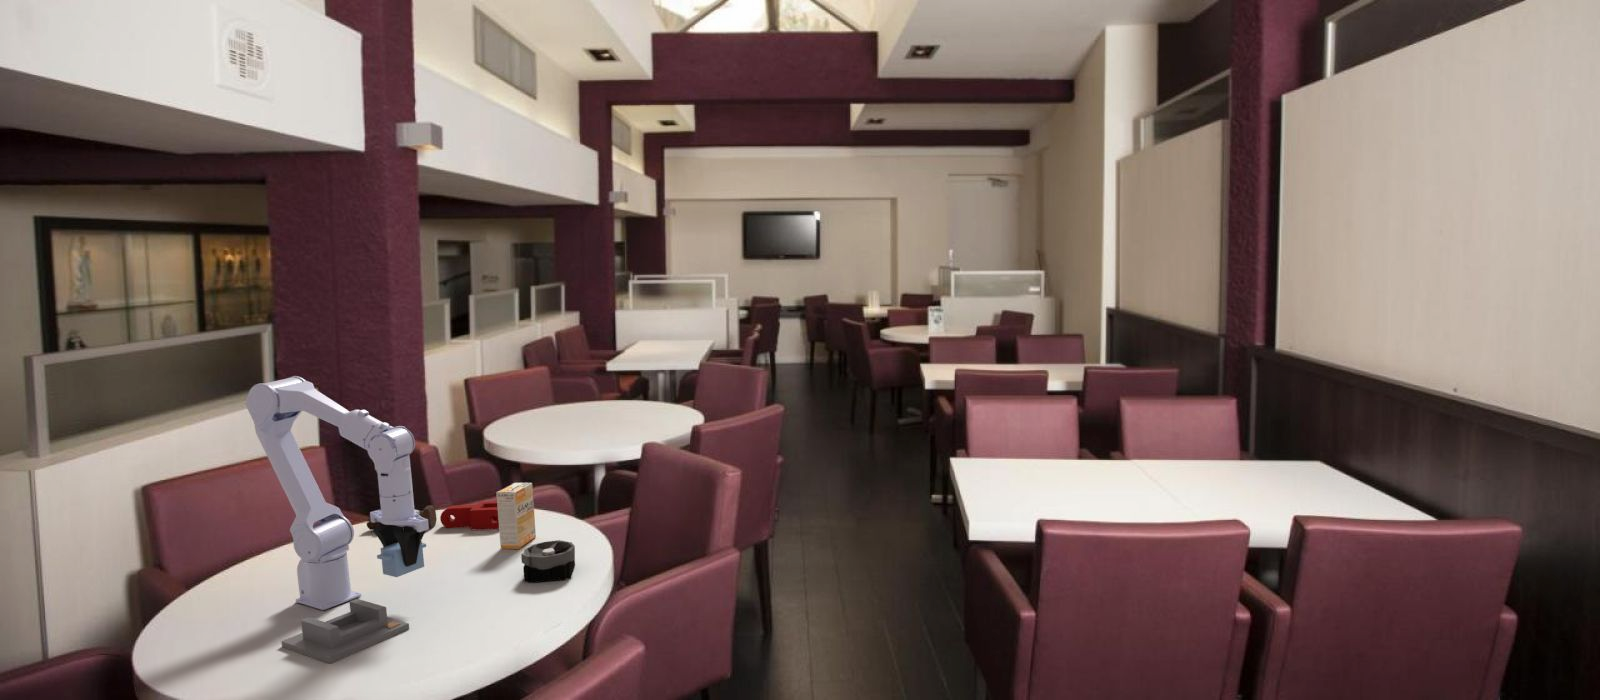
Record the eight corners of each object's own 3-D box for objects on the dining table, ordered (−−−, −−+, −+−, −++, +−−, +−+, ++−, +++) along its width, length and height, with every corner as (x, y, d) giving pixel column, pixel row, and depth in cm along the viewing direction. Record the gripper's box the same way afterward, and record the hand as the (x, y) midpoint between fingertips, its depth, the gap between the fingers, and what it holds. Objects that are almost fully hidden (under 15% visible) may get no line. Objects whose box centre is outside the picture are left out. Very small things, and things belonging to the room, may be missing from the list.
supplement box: (519, 549, 206) (515, 492, 205) (499, 549, 207) (495, 491, 206) (537, 537, 214) (533, 482, 213) (518, 536, 215) (513, 481, 214)
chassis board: (281, 646, 161) (279, 622, 160) (361, 614, 174) (359, 591, 173) (329, 663, 154) (327, 638, 153) (409, 628, 166) (407, 605, 166)
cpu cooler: (577, 537, 196) (571, 554, 186) (579, 563, 197) (573, 581, 187) (526, 541, 195) (518, 558, 185) (528, 567, 195) (520, 585, 185)
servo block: (377, 576, 174) (374, 547, 173) (416, 561, 181) (413, 533, 180) (390, 579, 172) (387, 550, 171) (429, 564, 179) (427, 536, 178)
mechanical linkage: (513, 520, 229) (511, 500, 228) (505, 529, 222) (503, 509, 221) (448, 522, 229) (446, 503, 228) (437, 532, 222) (435, 512, 221)
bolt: (371, 537, 225) (436, 531, 226) (363, 533, 220) (429, 527, 222) (373, 513, 227) (437, 507, 228) (365, 508, 222) (430, 502, 224)
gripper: (439, 491, 174) (446, 561, 176) (390, 483, 181) (397, 550, 183) (406, 502, 168) (413, 574, 170) (357, 492, 175) (364, 562, 177)
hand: (403, 562), depth 176 cm, fingers closed on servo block, 4 cm apart
